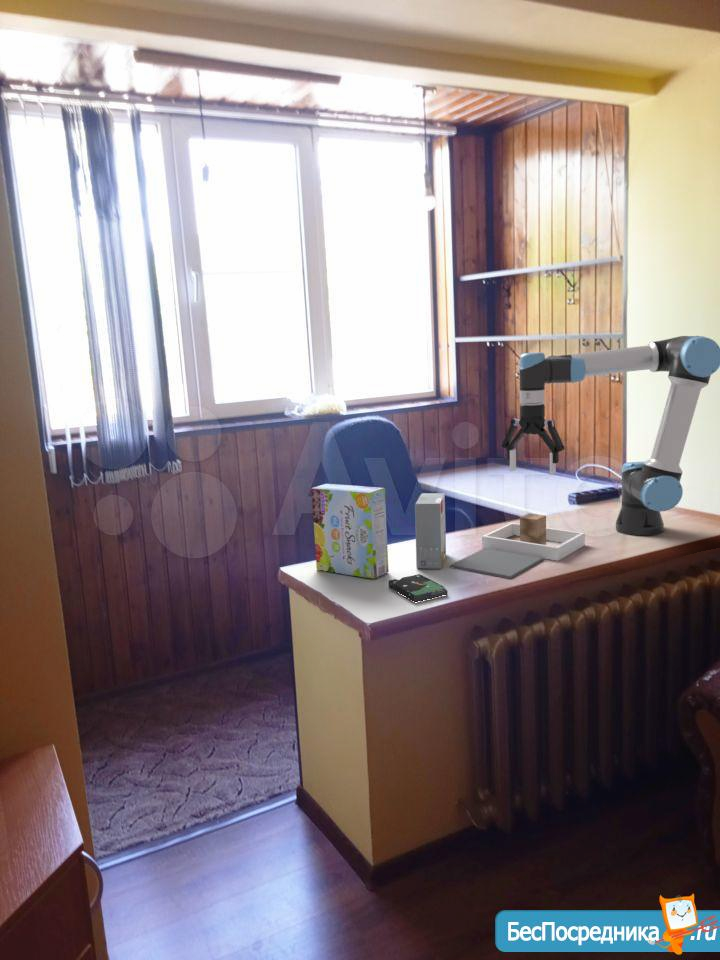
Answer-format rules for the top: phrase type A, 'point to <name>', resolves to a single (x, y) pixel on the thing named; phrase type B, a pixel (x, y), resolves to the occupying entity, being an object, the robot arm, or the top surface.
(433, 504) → the hard drive box
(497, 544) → the bin
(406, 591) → the disk drive
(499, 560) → the mat
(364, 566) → the snack box
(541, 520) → the walnut block
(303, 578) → the top surface
